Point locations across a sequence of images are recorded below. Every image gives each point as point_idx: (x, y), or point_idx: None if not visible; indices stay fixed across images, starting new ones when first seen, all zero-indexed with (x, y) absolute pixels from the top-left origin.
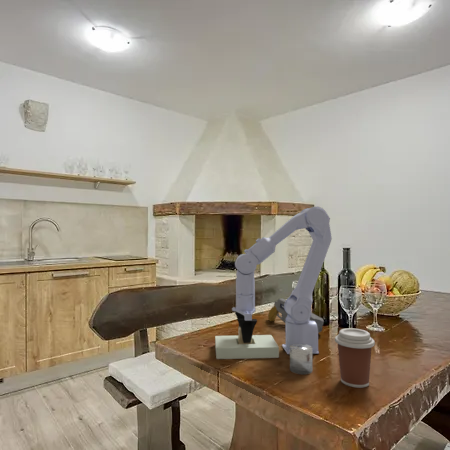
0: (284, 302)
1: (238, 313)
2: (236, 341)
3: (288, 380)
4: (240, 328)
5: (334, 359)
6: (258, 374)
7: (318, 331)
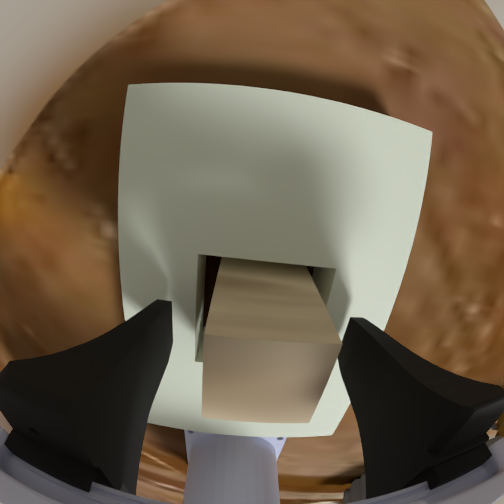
0: None
1: (445, 436)
2: (268, 260)
3: (2, 334)
4: (263, 354)
5: (154, 469)
6: (9, 270)
7: (344, 491)
